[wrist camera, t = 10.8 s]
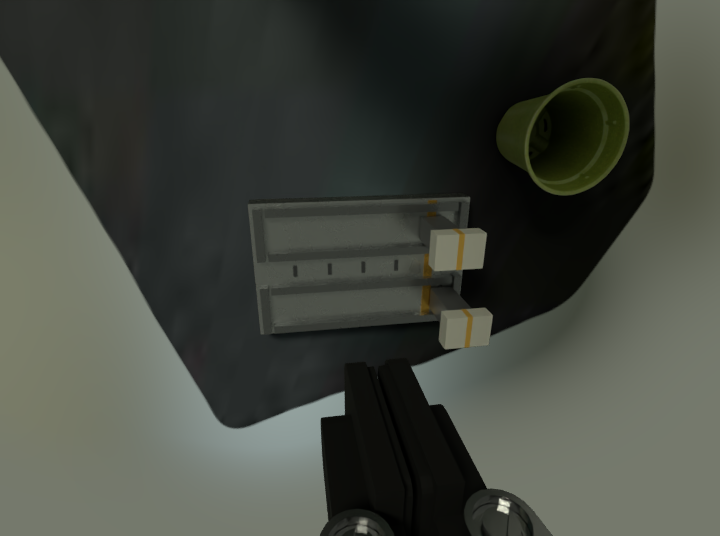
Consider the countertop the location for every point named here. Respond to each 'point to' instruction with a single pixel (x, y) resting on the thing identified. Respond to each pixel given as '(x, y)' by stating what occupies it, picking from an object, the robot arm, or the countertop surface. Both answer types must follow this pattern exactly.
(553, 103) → the plant pot
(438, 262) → the white striped slider handle
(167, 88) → the countertop surface
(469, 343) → the fader knob
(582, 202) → the countertop surface
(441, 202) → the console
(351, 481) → the robot arm
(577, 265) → the countertop surface
